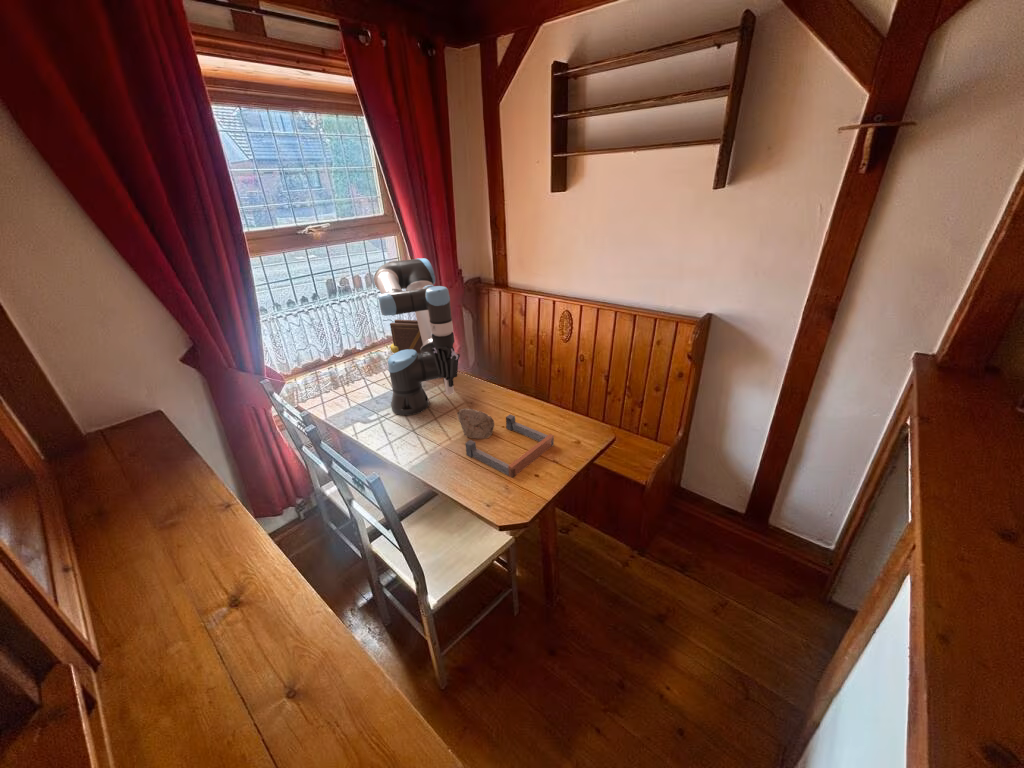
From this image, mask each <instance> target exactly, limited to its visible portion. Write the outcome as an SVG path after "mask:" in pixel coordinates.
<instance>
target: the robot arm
mask: <svg viewBox="0 0 1024 768" xmlns="http://www.w3.org/2000/svg"><path fill="white" fill-rule="evenodd" d="M373 282H374V286H375V287H376V288H377V290H379V292H380V294H379V295H378V297H377V298H378V303H379V309H380V312H381V313H380V314H381V315H383V316H385V317H386V316H396V315H397V316H398V315H403V314H409V313H415V317H416V320H417V322H418V326H419V330H420V334H421V338H422V342H423V346H422V347H421V349H420V350H421V352H420V353H417V352H416V351H415V350H413V349H410V350H409V349H406V350H402V351H399V352H396V353H393V354H391V355H390V356H389V357H388V360H387V367H388V369H387V371H388V372H389V376H390V384H391V388H392V397H391V402H390V406H391V407H390V408H391V411H392V412H393V413H394V414H396V415H399V416H413V415H416V414H420V413H422V412H423V411H425V410H426V409H427V408H428V407H429V405H430V402H429V397H428V395H427V394H426V391H425V390H424V388H423V385H422V384H423V382H427V381H434V380H439V379H443V384H444V390H445V395H447V396H451V395H452V394H454V393H455V389H454V388H455V387H454V386H455V383H454V379H455V378H457V377H458V369H459V359H460V358H461V355H460V353H456V351H455V348H454V343H455V334H454V324H453V317H452V309H451V308H452V307H451V296H450V292H449V291H450V290H449V289H448V288H447V286H442V285H435V284H436V276H435V271H434V268H433V265H432V263H431V262H430V260H429V259H427V258H425V257H424V258H423V257H422V258H420V257H417V258H414V259H405V260H404V259H403V260H393V261H389V262H386V263H384V264H382V265H381V266H379V268H378V269H377V270H376V271H375V273H374V276H373ZM404 289H405V290H404Z"/></svg>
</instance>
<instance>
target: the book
mask: <svg viewBox="0 0 1024 768" xmlns="http://www.w3.org/2000/svg"><path fill="white" fill-rule="evenodd" d="M389 326H390V332H391V337H392V342H393V343H391V344H390V346H389V347H390V351H391V353H393V354H394V353H396V352H399V351H402V350H406V349H409V350H410V349H413V350H415V351H416V352H417V353H420V352H421V350H420V349H421V347H422V346H423V342H422V338H421V334H420V330H419V326H418V322H417V319H395V320H394V322H390V323H389Z"/></svg>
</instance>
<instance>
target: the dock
mask: <svg viewBox="0 0 1024 768" xmlns="http://www.w3.org/2000/svg"><path fill="white" fill-rule="evenodd" d="M505 423H506V425H505V426H506V429H507V430H509V431H514V432H516V433H519V434H521V435H523V436H525V437H526V438H529V439H532V440H534V441H537V442H538V443H536V444H534V446H532V447H531V448H530V449H528V450H527V451H526V452H524V453H523V454H522V455H520V456H519V457H518V458H516V459H515V460H514V461H512V462H511V463H510V464H509V463H506V462H505V461H502V460H500V459H498V458H496V457H494V456H493V455H491V454H489V453H487V452H484V451H482V450H481V449H478V448H477V443H476V441H474V440H472V439H469V440H467V441H466V442H465V451H466V456H468V457H469V458H474V459H475V460H477V461H479V462H481V463H483V464H485V465H487V466H489V467H491V468H493V469H494V470H496V471H499V472H500V473H502V474H504V475H506V476H508V477H510V478H512V479H513V478H514V477H516V476H517V475H518V474H520V473H522V471H524V470H525V469H526V468H527V467H528V466H530V464H532V463H533V462H534V461H536V460H537V459H538V458H539V457H540V456H542V455H543V454H545V453H546V452H547V451H548V450H549V449H551V448H552V447H553V446H554V445H555V444H554V442H555V440H554V439H555V438H554V437H555V435H554V434H551V433H549V434H546V433H543V432H541V431H539V430H536V429H534V428H532V427H529V426H527V425H524V424H522V423H519V422H516V416H515V415H513V414H508V415H507V416H505Z"/></svg>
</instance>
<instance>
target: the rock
mask: <svg viewBox="0 0 1024 768" xmlns="http://www.w3.org/2000/svg"><path fill="white" fill-rule="evenodd" d="M456 415H457V419H458V422H459V423H460V426H461V428H462V429H461V430H462V431H463V435H464V436H466V437H467V438H470V439H476V440H477V439H479V440H482V439H488V438H489V437H490V436H492V435H493V433H494V432H493V431H494V427H495V421H494V418H493V416H492V417H491V416H490V415H488V414H487V413H485V412H484V411H482V410H476V409H473V408H459V411H456Z"/></svg>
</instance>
